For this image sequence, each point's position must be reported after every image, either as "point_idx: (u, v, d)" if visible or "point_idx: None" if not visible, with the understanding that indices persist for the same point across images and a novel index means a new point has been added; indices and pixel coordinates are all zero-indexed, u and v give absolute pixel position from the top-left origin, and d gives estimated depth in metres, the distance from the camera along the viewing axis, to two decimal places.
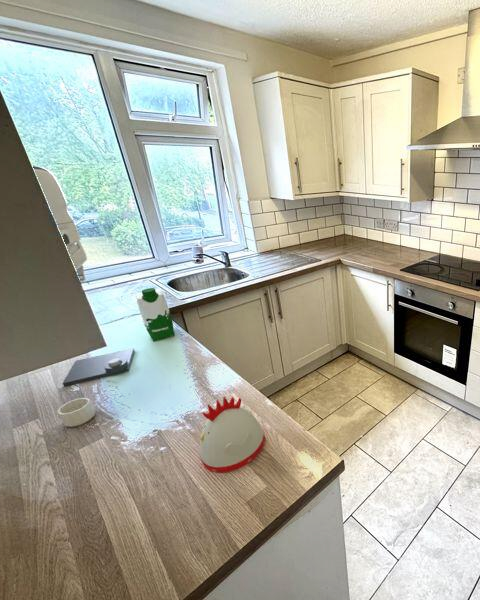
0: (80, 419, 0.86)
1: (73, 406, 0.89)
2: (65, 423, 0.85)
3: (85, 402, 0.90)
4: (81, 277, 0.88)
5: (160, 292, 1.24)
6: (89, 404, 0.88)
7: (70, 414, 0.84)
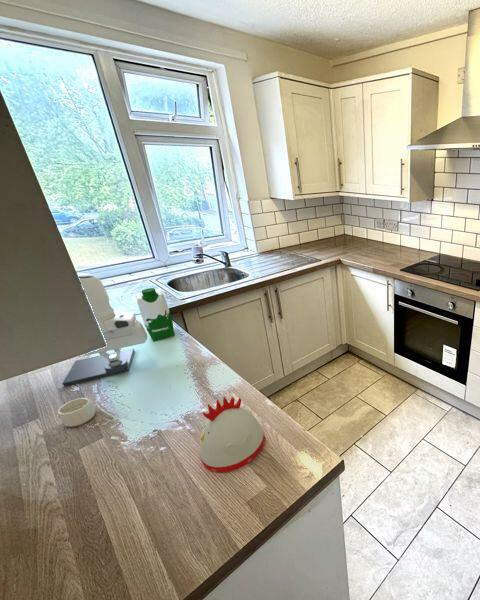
0: (80, 419, 0.86)
1: (73, 406, 0.89)
2: (65, 423, 0.85)
3: (85, 402, 0.90)
4: None
5: (160, 292, 1.24)
6: (89, 404, 0.88)
7: (70, 414, 0.84)
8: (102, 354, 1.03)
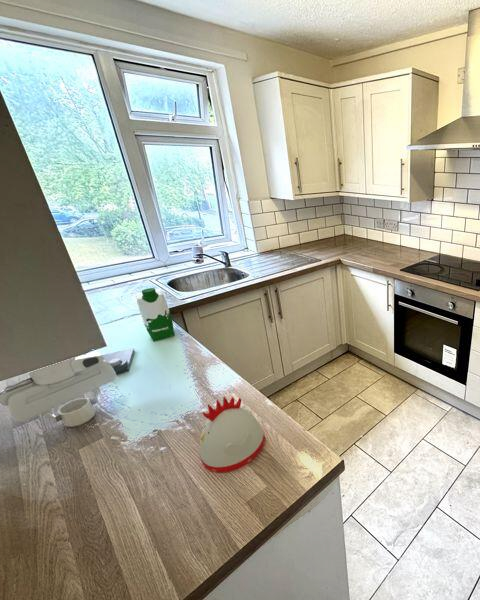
0: (80, 419, 0.86)
1: (73, 406, 0.89)
2: (65, 423, 0.85)
3: (85, 402, 0.90)
4: None
5: (160, 292, 1.24)
6: (89, 404, 0.88)
7: (70, 414, 0.84)
8: (46, 414, 0.81)
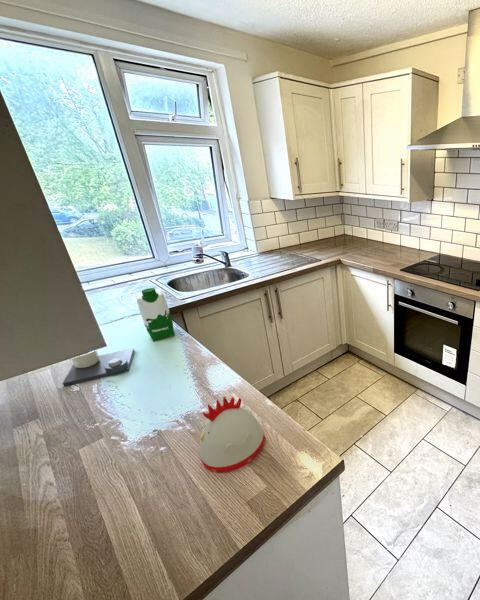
0: (87, 362, 1.07)
1: None
2: (75, 365, 1.06)
3: None
4: None
5: (160, 292, 1.24)
6: (94, 351, 1.09)
7: (79, 357, 1.05)
8: None
